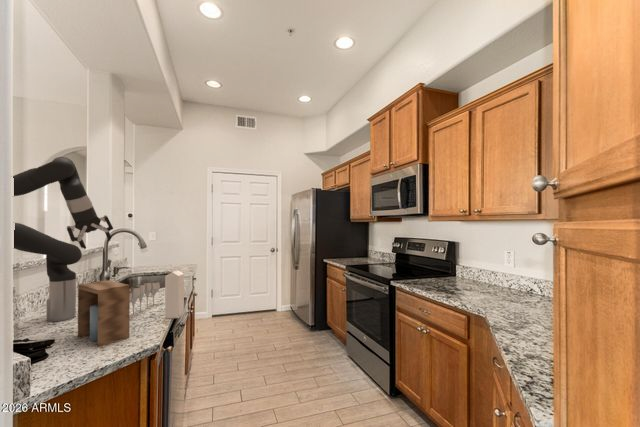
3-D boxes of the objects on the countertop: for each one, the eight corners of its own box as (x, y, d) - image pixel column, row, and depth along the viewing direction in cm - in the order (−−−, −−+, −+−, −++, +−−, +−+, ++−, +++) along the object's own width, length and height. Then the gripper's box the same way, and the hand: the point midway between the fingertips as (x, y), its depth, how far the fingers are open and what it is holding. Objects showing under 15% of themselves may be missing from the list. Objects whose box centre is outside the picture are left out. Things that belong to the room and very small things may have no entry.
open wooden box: (98, 346, 105) (98, 290, 105) (77, 336, 115) (78, 284, 115) (129, 337, 113) (129, 284, 113) (107, 328, 123) (107, 280, 123)
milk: (184, 314, 141) (184, 266, 141) (178, 318, 135) (179, 268, 135) (170, 314, 140) (171, 266, 141) (164, 318, 134) (165, 268, 135)
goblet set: (128, 322, 131) (129, 291, 131) (115, 322, 130) (115, 291, 131) (161, 304, 159) (162, 278, 159) (150, 304, 158) (151, 278, 159)
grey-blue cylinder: (86, 341, 109) (87, 308, 109) (93, 335, 115) (93, 304, 115) (106, 339, 111) (106, 306, 111) (111, 333, 117) (112, 302, 117)
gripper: (58, 216, 112) (77, 254, 118) (103, 204, 120) (118, 240, 126) (58, 211, 117) (76, 247, 124) (101, 200, 125) (115, 235, 132)
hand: (97, 243), depth 125 cm, fingers open, 8 cm apart
